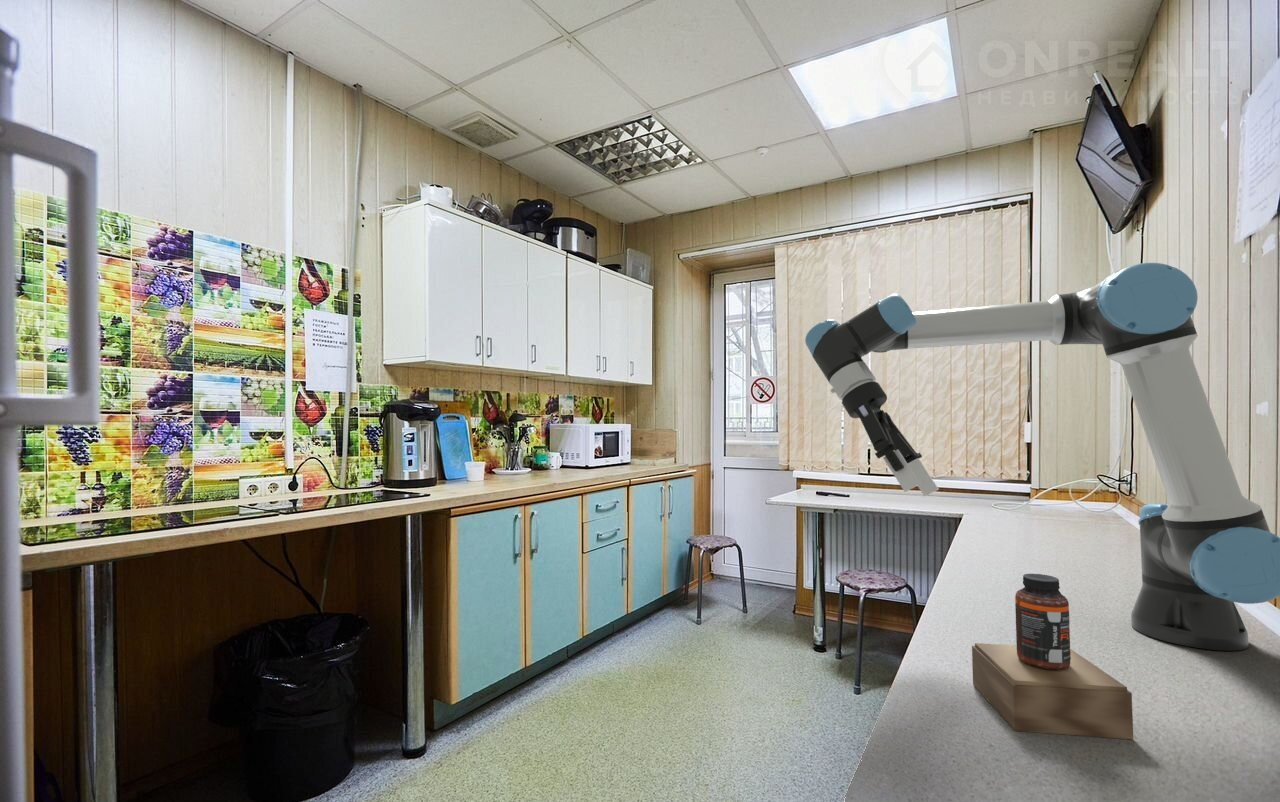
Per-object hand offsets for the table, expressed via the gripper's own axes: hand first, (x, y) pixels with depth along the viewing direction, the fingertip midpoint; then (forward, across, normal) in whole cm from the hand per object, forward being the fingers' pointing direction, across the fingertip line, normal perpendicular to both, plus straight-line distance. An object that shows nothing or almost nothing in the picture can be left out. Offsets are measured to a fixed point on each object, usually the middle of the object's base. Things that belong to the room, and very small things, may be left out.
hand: (922, 490), depth 100 cm
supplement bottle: (+28, +11, +3) cm, 31 cm away
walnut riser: (+33, +10, 0) cm, 35 cm away
